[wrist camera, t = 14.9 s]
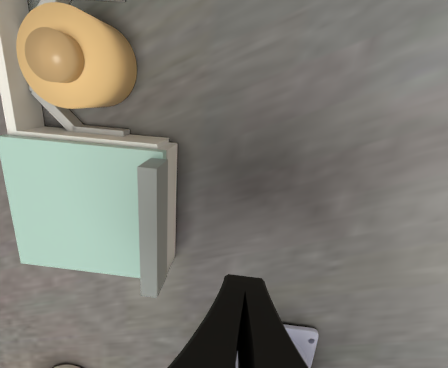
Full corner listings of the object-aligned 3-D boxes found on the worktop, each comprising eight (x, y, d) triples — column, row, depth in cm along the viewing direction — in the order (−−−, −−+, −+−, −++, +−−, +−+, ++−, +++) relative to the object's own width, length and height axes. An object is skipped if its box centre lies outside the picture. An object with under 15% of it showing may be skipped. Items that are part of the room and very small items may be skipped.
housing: (175, 256, 21) (166, 276, 19) (53, 242, 22) (30, 259, 20) (180, -14, 15) (168, -32, 13) (14, -24, 16) (-24, -43, 14)
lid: (169, 275, 19) (157, 303, 16) (27, 258, 19) (-5, 282, 17) (171, 150, 16) (156, 160, 13) (4, 134, 17) (-38, 141, 14)
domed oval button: (142, 104, 18) (106, 106, 13) (70, 108, 18) (15, 111, 14) (130, 18, 16) (86, -11, 12) (53, 25, 17) (-15, 0, 13)
